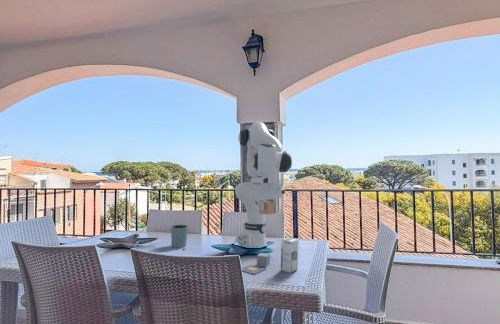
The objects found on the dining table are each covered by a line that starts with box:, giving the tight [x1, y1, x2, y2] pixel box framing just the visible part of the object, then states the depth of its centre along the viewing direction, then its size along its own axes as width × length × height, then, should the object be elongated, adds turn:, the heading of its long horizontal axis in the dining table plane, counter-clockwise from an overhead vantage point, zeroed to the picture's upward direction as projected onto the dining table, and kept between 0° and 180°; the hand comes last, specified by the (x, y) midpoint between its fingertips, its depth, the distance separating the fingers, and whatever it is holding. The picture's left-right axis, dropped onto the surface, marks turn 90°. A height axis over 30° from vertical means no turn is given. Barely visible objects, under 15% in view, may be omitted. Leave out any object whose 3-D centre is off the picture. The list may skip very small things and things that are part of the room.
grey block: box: [256, 252, 271, 268], centre depth 147 cm, size 5×5×5 cm
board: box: [241, 264, 267, 275], centre depth 140 cm, size 9×9×1 cm
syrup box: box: [280, 237, 299, 274], centre depth 140 cm, size 6×6×14 cm
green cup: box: [170, 224, 189, 249], centre depth 180 cm, size 10×10×12 cm
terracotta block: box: [258, 200, 276, 215], centre depth 135 cm, size 5×5×5 cm
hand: (266, 209), depth 135 cm, fingers closed on terracotta block, 5 cm apart
